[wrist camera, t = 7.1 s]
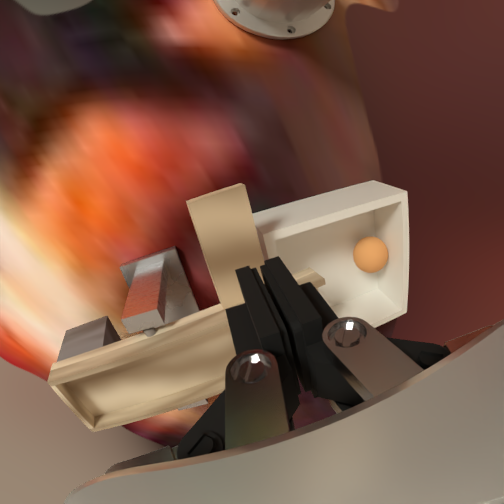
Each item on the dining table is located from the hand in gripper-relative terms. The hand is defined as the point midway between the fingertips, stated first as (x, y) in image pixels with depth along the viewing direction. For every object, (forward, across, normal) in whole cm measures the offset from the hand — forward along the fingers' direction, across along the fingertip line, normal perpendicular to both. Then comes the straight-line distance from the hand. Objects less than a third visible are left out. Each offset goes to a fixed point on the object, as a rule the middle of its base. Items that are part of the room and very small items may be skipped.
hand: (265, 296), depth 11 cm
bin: (+18, -10, +10) cm, 23 cm away
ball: (+16, -14, +10) cm, 24 cm away
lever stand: (+18, +8, +10) cm, 23 cm away
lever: (+15, +7, +6) cm, 18 cm away
